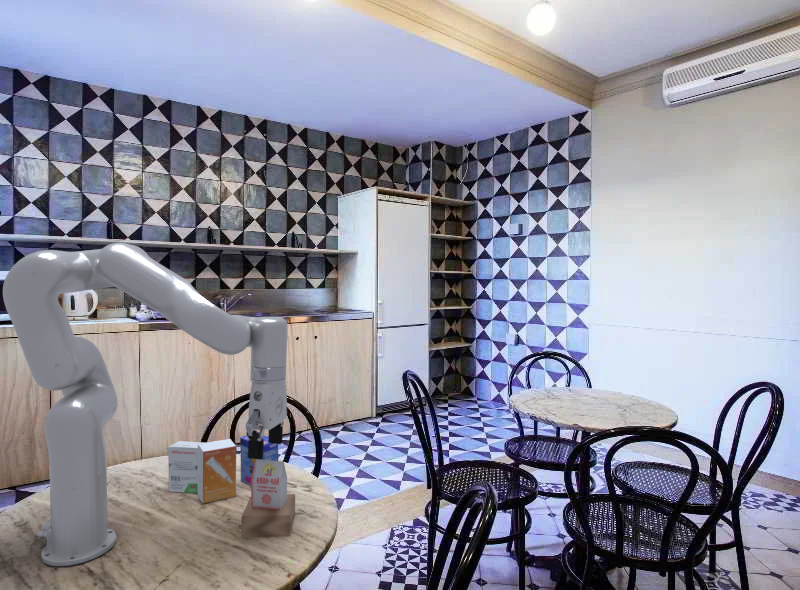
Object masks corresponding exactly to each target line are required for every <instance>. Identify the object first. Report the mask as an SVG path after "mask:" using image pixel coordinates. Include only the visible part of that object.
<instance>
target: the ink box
mask: <svg viewBox="0 0 800 590" xmlns="http://www.w3.org/2000/svg"><path fill="white" fill-rule="evenodd" d="M203 443H204V442H203V441H202V442H201V441H200V442H199V441H182V440H179V441H176V442H174V443H173V444H170V445H169V446H168V448H167V452H168V458H167V459H168V492H169V493H170V492H171V493H185V494H187V493H188V494H198V481H197V473H198V444H203Z"/></svg>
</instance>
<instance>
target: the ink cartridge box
mask: <svg viewBox="0 0 800 590" xmlns="http://www.w3.org/2000/svg"><path fill="white" fill-rule="evenodd" d="M259 432H260V431H257V433H258V434H259ZM247 437H248V436H247V434H246V435H243V436H241V437H240V438H239V442H240V443H239V444H240V446H239V447H240V452H239V453H240V482H242V483H245V484H247V485H250V486H251V479H252V474H253V468H254V460H255V459H250V458H248V439H247ZM268 437H269V436H267V435H263V438H262V440H264V450H263V458H262V459H261V460H271V461H280V460H279V444H273V443H269V442H268ZM258 460H259V459H258Z"/></svg>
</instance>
